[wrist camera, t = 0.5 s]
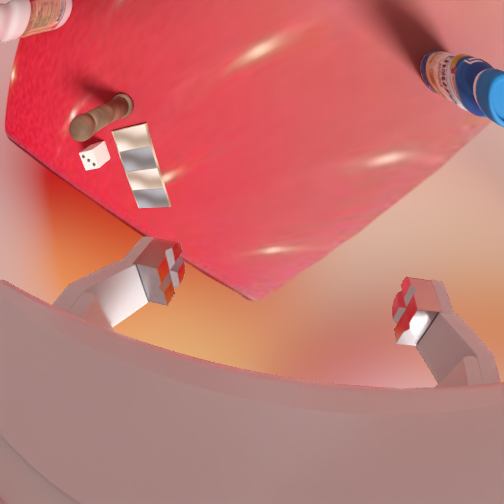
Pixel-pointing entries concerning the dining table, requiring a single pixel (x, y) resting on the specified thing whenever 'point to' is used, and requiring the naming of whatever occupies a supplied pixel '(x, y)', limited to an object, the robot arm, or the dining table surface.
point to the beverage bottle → (466, 83)
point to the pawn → (100, 117)
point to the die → (94, 155)
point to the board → (141, 166)
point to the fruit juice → (32, 17)
